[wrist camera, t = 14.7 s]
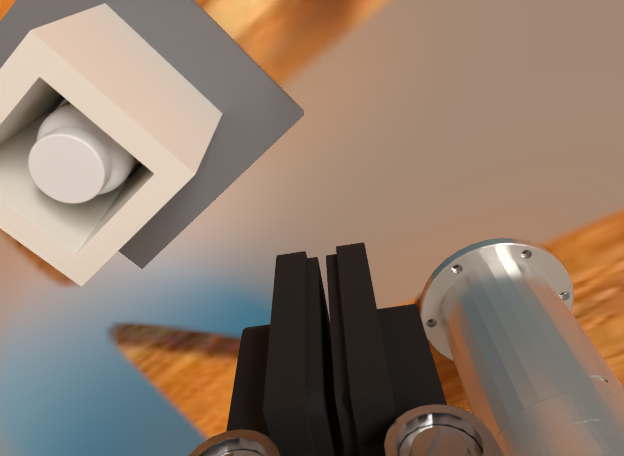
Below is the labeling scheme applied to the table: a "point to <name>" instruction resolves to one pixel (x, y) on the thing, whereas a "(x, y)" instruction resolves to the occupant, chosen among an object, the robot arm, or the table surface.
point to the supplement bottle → (76, 157)
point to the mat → (204, 77)
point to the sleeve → (111, 119)
